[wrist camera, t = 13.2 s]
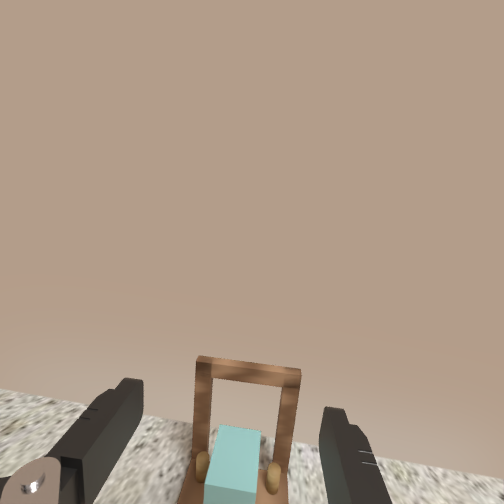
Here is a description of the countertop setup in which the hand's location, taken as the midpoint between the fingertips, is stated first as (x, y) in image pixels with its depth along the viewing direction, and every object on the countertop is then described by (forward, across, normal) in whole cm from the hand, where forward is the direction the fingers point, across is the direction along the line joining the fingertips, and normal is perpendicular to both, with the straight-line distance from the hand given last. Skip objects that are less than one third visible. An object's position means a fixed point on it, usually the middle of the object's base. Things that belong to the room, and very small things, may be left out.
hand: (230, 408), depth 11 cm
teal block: (+10, 0, +27) cm, 29 cm away
